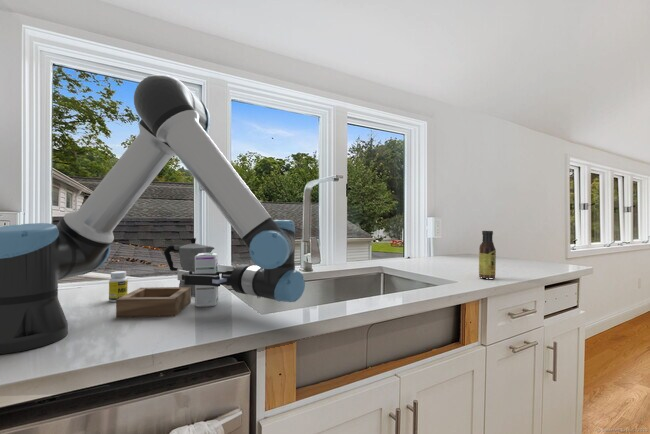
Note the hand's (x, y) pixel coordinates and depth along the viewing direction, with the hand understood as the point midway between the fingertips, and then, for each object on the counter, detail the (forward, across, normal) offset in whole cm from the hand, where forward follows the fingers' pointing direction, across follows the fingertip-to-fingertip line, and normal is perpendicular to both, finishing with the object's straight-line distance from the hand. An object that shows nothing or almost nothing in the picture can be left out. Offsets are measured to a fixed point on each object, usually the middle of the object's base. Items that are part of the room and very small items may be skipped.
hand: (199, 271), depth 102 cm
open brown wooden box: (+3, -12, -9) cm, 15 cm away
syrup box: (-3, 0, -9) cm, 10 cm away
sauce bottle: (-62, +94, -9) cm, 112 cm away
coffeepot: (+13, +6, -9) cm, 17 cm away
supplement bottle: (+21, -13, -9) cm, 26 cm away
